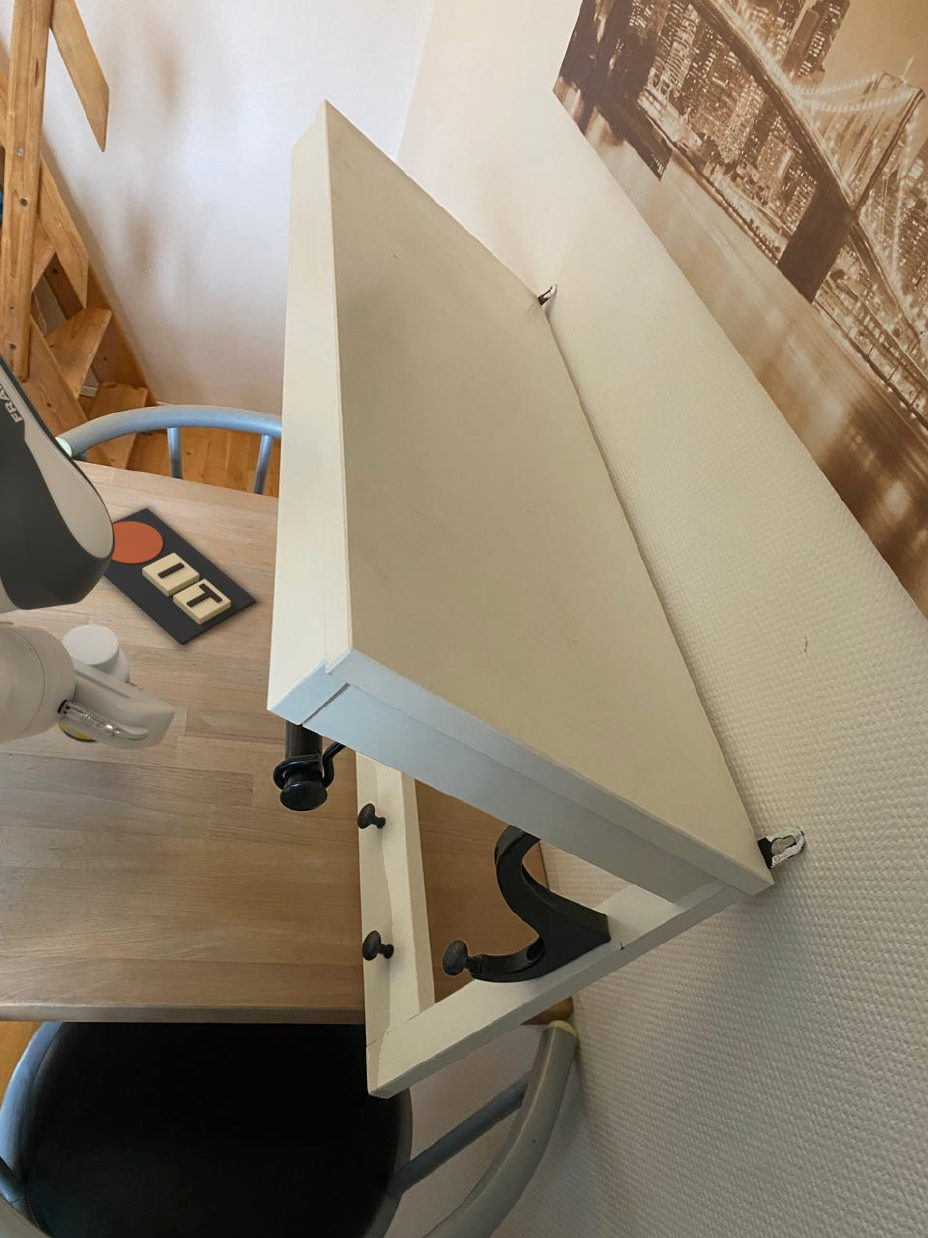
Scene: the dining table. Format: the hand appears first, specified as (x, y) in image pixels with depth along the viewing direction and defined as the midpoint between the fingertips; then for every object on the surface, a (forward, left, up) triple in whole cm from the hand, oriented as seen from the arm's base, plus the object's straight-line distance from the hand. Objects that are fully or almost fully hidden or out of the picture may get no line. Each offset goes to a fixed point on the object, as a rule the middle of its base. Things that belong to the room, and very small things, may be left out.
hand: (96, 674), depth 76 cm
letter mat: (-19, +23, -17) cm, 34 cm away
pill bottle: (0, -1, -7) cm, 7 cm away
